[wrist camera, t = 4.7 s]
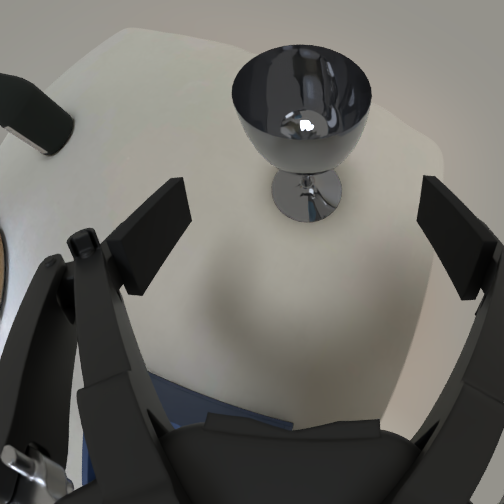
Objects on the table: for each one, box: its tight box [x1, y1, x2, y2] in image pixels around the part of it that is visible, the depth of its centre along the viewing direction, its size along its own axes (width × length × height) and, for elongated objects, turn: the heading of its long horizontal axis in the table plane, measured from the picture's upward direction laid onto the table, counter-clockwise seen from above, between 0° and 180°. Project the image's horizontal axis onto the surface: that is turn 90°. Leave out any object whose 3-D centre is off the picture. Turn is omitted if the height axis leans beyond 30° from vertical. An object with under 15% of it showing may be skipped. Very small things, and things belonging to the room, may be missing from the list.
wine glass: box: [232, 45, 372, 222], centre depth 21 cm, size 8×8×15 cm
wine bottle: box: [0, 73, 73, 155], centre depth 24 cm, size 8×8×30 cm
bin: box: [82, 372, 293, 486], centre depth 21 cm, size 18×15×8 cm
